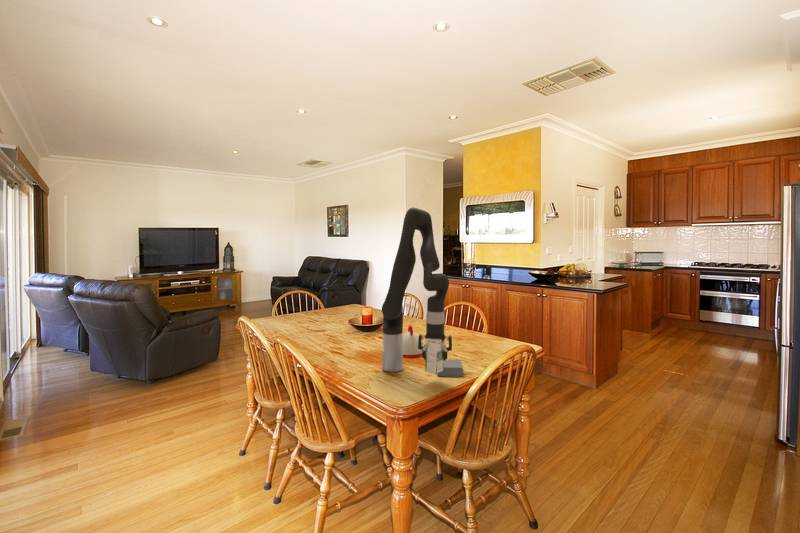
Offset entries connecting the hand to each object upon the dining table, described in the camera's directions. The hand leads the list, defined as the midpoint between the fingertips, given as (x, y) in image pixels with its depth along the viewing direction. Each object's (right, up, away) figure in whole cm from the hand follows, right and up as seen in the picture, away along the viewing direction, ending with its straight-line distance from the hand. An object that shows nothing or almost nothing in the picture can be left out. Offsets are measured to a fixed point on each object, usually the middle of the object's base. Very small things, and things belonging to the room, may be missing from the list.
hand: (434, 359), depth 164 cm
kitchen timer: (-9, -7, +40) cm, 42 cm away
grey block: (+8, -9, +13) cm, 17 cm away
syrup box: (0, -5, 0) cm, 5 cm away
